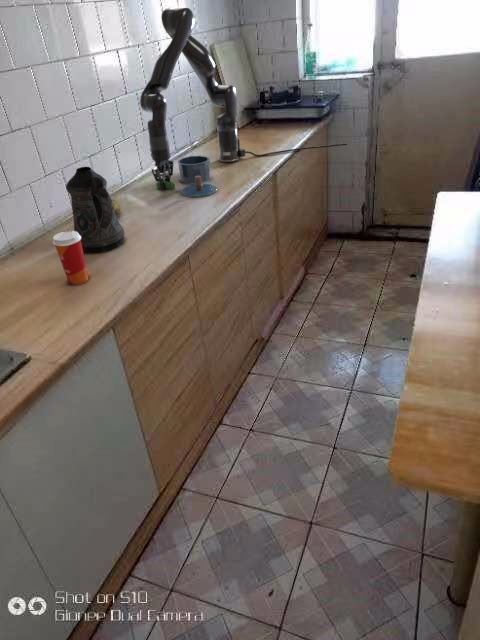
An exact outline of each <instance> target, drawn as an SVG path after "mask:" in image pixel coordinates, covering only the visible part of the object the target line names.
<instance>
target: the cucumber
mask: <svg viewBox="0 0 480 640" xmlns="http://www.w3.org/2000/svg"><path fill="white" fill-rule="evenodd" d="M165 185H166V190H167V191H171V190H174V189H175V188H176V184H175V182H173V181H170V182H167V181H165ZM155 186H156V188H157V189H158V190H161V188H160V182H157V181H156V185H155Z"/></svg>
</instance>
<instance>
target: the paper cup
mask: <svg viewBox="0 0 480 640" xmlns="http://www.w3.org/2000/svg"><path fill="white" fill-rule="evenodd" d="M52 240H53V241H52V244H53V245H54V247H55V250H56V253H57V255H58V257H59V261H60V263H61V266H62V268H63V271H64V274H65V276H66V279H67V281H68V283H69V284H70V285H72V286H74V285H75V286H77V285H82V284H85V283H86V282H87V281H88V280H89V275H88V269H87V264H86V259H85V253H84V252H83V249H82V244H81V236H80V235H79V233H78V232H76V231H74V230H67V231H60V232H58V233H56V234H55V235H53V238H52Z"/></svg>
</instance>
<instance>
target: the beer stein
mask: <svg viewBox="0 0 480 640" xmlns="http://www.w3.org/2000/svg"><path fill="white" fill-rule="evenodd" d="M107 186H108V181H107V179H106V178H104V177H103V176H102V175H101V174H99V173H97V172H95V171H94V170H93V169H92V167H91V166H81V167H78V168H76V170H75V173H74V175H73V176H72V177H71V178H70V179H69V180H68V181H67V183H66V185H65V189H66V191H67V193H68V194H69V195H70V202H71V209H72V217H73V231H76V232H78V233H79V235H80V236H81V244H82V249H83V254H91V255H92V254H102V253H107V252H109V251H113V250H115V249H117V248H119V247H120V246H122V245H123V244H124V241H125V230H124V226H122V225H121V223H120V220H119V219H118V217H117V215H116V214H115V212H114V209H113V203H112V200H113V199H112V197H111V195H110V193H109V192H108V190H107Z"/></svg>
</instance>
